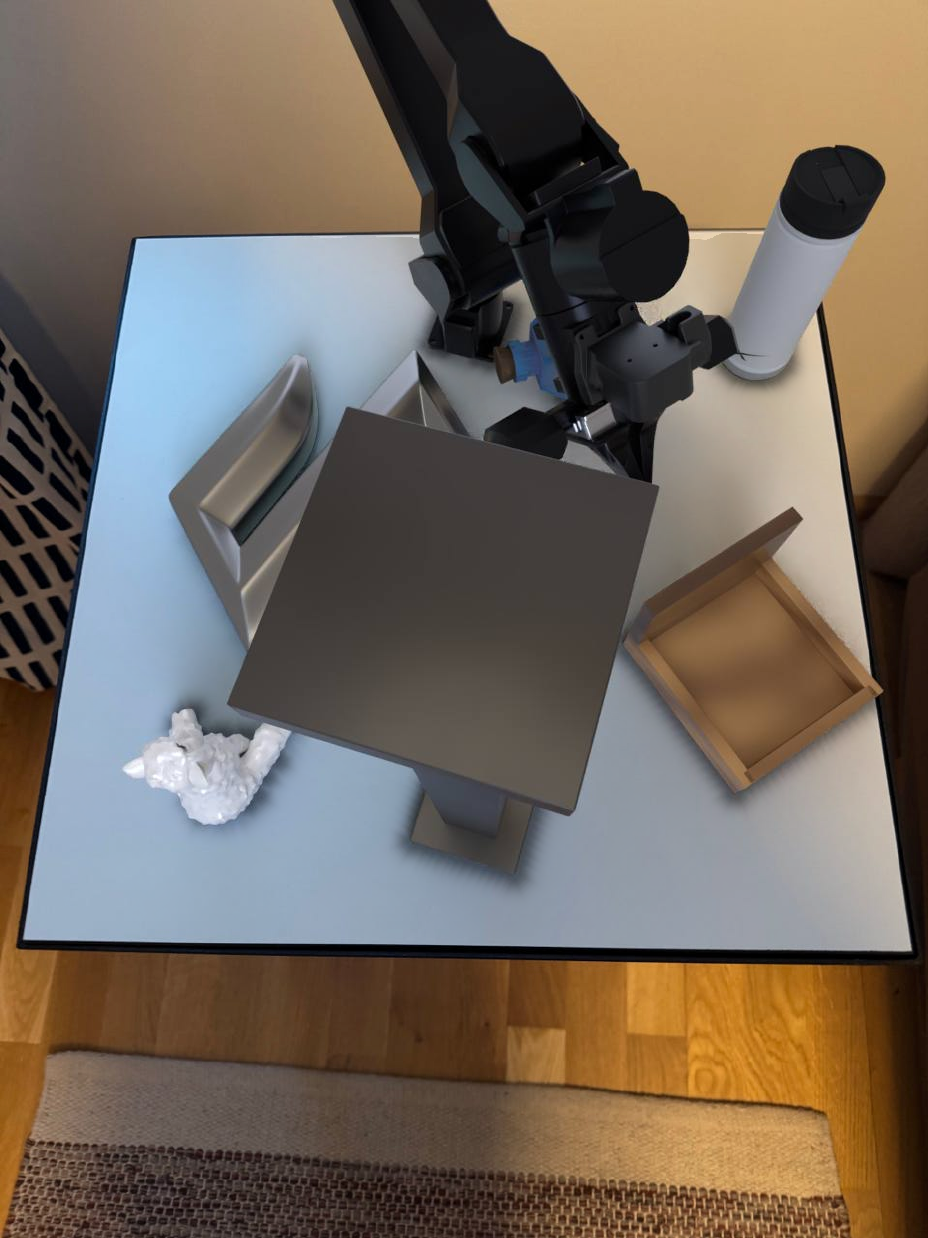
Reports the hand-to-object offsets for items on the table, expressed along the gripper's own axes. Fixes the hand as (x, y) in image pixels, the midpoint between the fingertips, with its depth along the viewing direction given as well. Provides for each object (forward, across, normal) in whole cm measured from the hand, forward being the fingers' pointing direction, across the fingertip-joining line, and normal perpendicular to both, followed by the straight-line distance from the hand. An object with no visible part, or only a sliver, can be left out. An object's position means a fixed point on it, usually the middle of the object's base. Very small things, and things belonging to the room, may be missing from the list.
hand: (644, 494), depth 64 cm
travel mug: (-1, +19, +10) cm, 22 cm away
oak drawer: (+15, 0, -6) cm, 16 cm away
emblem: (-6, -19, +15) cm, 25 cm away
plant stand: (+13, -23, -4) cm, 27 cm away
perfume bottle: (-7, +10, +12) cm, 17 cm away
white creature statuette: (+4, -38, +5) cm, 38 cm away
